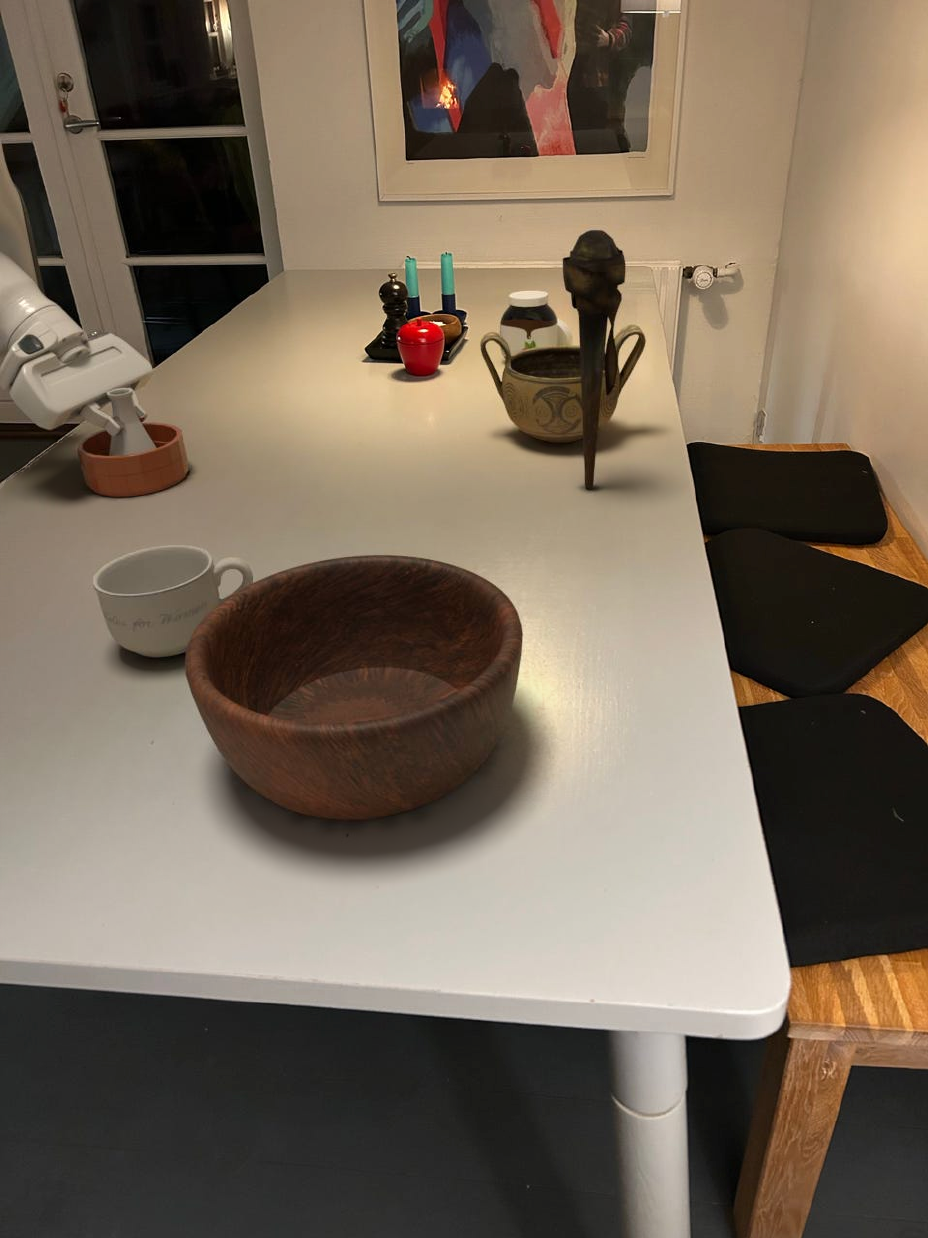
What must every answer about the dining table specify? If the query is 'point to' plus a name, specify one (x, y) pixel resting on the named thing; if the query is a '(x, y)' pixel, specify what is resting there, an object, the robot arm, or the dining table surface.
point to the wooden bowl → (357, 682)
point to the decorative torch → (594, 325)
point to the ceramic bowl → (554, 386)
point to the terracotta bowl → (134, 463)
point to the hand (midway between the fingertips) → (131, 426)
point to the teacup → (162, 596)
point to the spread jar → (532, 323)
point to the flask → (128, 426)
